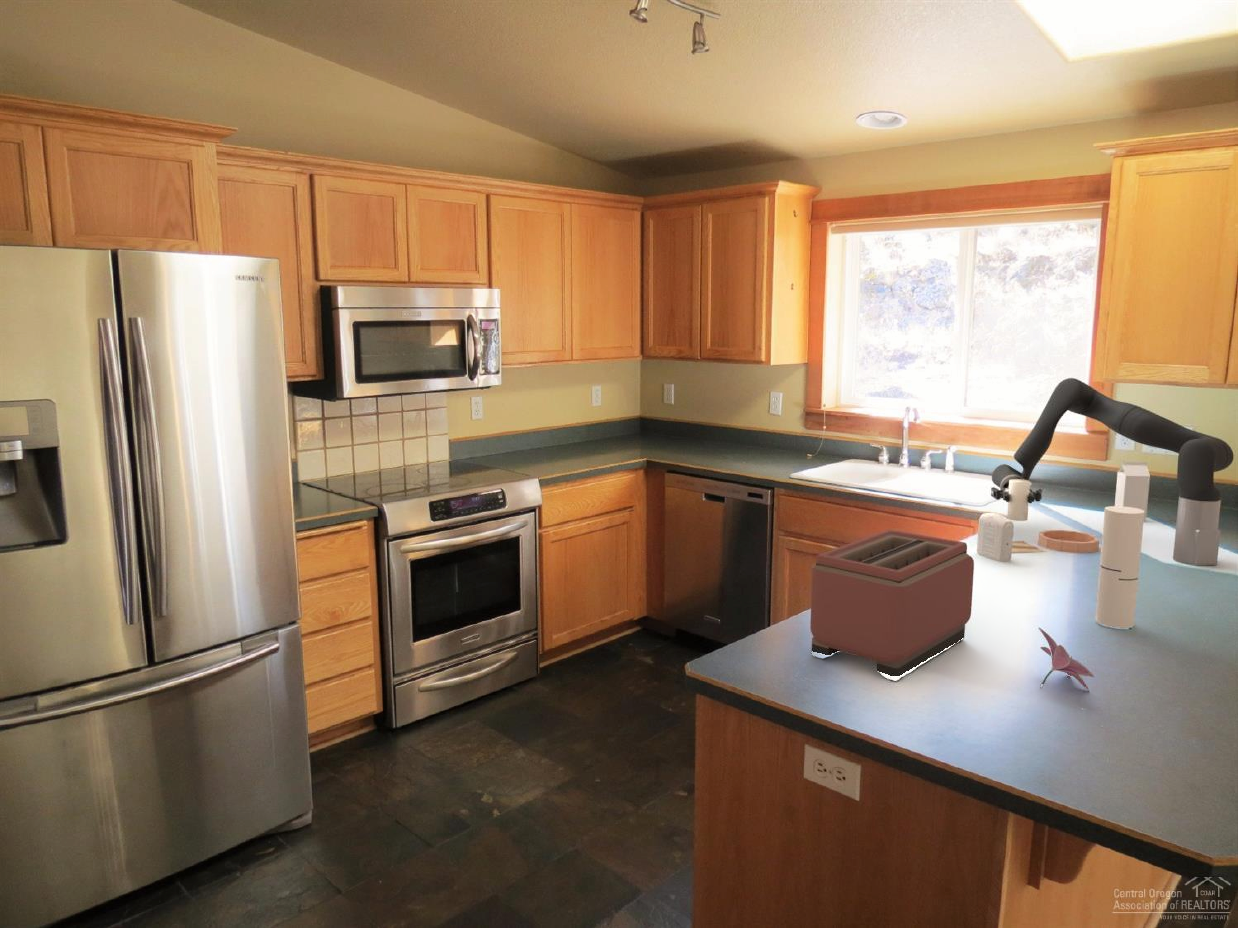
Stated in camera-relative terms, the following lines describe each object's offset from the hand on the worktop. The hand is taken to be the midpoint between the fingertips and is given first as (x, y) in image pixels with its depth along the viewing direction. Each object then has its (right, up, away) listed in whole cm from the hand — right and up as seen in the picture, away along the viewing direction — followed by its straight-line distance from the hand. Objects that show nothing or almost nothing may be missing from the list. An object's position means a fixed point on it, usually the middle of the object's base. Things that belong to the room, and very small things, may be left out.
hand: (1019, 499), depth 236 cm
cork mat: (+1, -14, +5) cm, 15 cm away
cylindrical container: (-6, -25, -56) cm, 61 cm away
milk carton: (+55, -8, +39) cm, 67 cm away
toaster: (-57, -27, -66) cm, 91 cm away
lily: (-33, -30, -86) cm, 97 cm away
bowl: (+17, -14, +6) cm, 23 cm away
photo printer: (-9, -16, -5) cm, 19 cm away
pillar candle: (+1, -6, +3) cm, 7 cm away
